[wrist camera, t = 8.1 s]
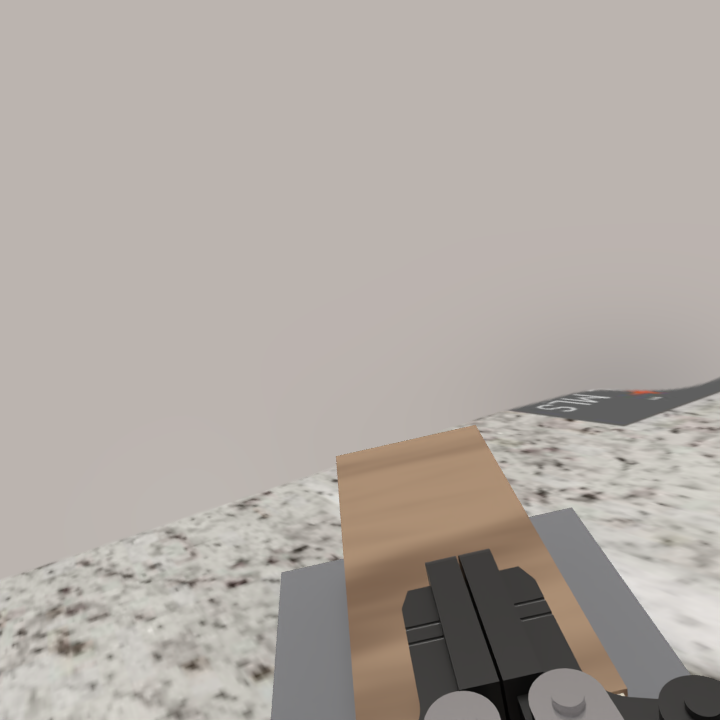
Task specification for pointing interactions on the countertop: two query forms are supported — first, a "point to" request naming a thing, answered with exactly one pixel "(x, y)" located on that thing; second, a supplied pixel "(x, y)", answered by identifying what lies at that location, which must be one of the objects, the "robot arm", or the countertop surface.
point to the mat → (332, 640)
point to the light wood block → (435, 555)
